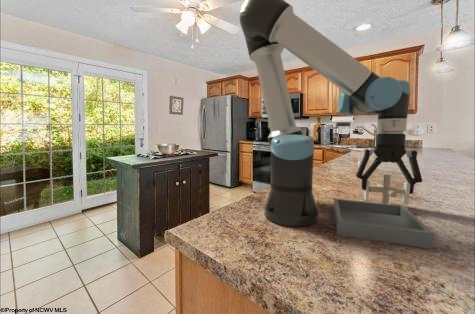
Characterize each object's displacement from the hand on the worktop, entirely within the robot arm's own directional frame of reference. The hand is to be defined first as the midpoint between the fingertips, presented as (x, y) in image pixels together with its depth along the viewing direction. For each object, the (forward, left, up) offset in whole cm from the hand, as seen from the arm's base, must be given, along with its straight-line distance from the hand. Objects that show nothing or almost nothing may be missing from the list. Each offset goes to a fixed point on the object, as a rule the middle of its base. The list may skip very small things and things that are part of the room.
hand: (385, 201), depth 70 cm
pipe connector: (0, 0, -1) cm, 1 cm away
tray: (-7, -18, -1) cm, 19 cm away
